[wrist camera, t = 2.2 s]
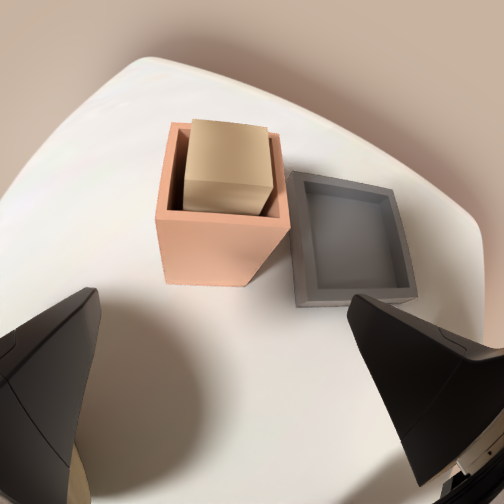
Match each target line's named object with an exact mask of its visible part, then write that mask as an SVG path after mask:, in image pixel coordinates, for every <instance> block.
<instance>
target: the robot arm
mask: <svg viewBox="0 0 504 504" xmlns="http://www.w3.org/2000/svg"><path fill="white" fill-rule="evenodd" d="M100 318H101V307H100V300H99V294H98V290H97V289H96V288H89V287H85V288H83V289H82V290H80V291H78V292H76V293H75V294H73V295H71V296H69V297H68V298H66V299H64V300H63V301H61V302H59V303H57V304H56V305H54V306H52V307H51V308H49V309H47V310H46V311H44V312H42V313H41V314H39V315H37V316H36V317H34V318H32V319H31V320H29V321H27V322H26V323H24V324H22V325H21V326H19V327H18V328H16V329H15V330H13V331H11V332H10V333H8V334H6V335H5V336H3V337H2V338H0V504H67V496H68V484H69V475H70V465H71V458H72V451H73V445H74V439H75V433H76V428H77V423H78V418H79V413H80V408H81V404H82V399H83V395H84V391H85V386H86V382H87V379H88V375H89V371H90V367H91V364H92V360H93V356H94V351H95V346H96V340H97V334H98V329H99V323H100ZM347 319H348V322H349V324H350V327H351V330H352V332H353V335H354V338H355V340H356V343H357V346H358V348H359V351H360V353H361V355H362V357H363V359H364V361H365V363H366V365H367V368H368V370H369V372H370V374H371V376H372V378H373V380H374V382H375V385H376V387H377V389H378V391H379V393H380V395H381V398H382V400H383V402H384V404H385V406H386V409H387V411H388V413H389V415H390V418H391V420H392V422H393V424H394V427H395V429H396V431H397V434H398V436H399V438H400V440H401V444H402V446H403V448H404V451H405V453H406V456H407V458H408V461H409V463H410V466H411V468H412V471H413V473H414V476H415V478H416V481H417V483H418V485H419V487H421V486H423V485H425V484H426V483H428V482H430V481H431V480H433V479H435V478H436V477H438V476H440V475H441V474H443V473H444V472H446V471H447V470H449V469H450V468H452V467H453V466H455V465H456V464H457V465H458V466H459V468H460V469H461V471H460V472H458V473H457V474H456V475H454V476H453V477H452V478H450V479H449V480H448V481H446V482H445V483H444V484H443V488H442V492H441V496H440V499H439V500H437V501H436V502H434V503H433V504H504V348H501V349H494V348H489V347H487V346H484V345H481V344H479V343H476V342H474V341H471V340H469V339H466V338H463V337H461V336H459V335H456V334H454V333H451V332H449V331H447V330H445V329H442V328H440V327H437V326H436V325H433V324H431V323H429V322H427V321H424V320H422V319H420V318H418V317H415V316H413V315H411V314H409V313H406V312H404V311H402V310H400V309H397V308H395V307H393V306H391V305H388V304H386V303H384V302H382V301H379V300H377V299H375V298H373V297H370V296H368V295H366V294H355V295H354V296H353V297H352V300H351V303H350V306H349V309H348V311H347Z"/></svg>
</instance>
